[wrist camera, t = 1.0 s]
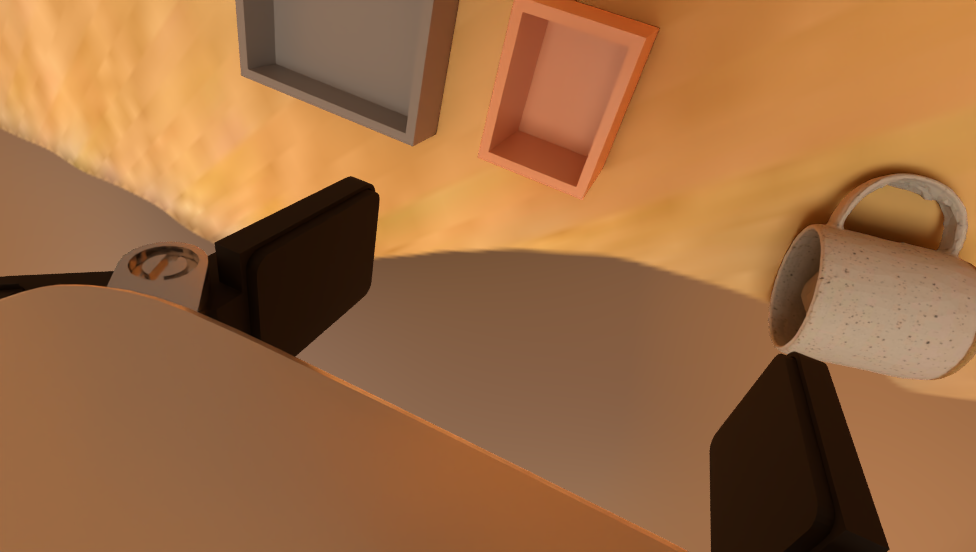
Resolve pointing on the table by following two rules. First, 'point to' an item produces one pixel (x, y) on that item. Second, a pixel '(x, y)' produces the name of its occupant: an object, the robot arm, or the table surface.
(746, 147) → the table surface
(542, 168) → the crate small
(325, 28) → the tray
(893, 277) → the ceramic mug
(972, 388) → the table surface
